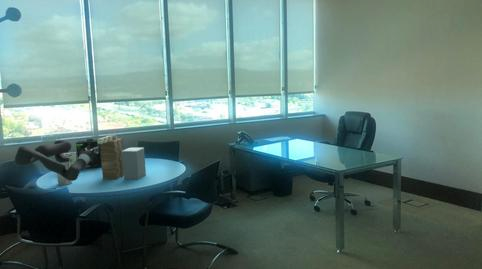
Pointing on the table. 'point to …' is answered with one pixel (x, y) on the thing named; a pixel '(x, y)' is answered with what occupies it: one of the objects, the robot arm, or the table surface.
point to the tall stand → (112, 159)
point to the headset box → (96, 158)
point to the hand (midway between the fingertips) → (94, 145)
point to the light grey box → (133, 163)
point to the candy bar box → (72, 157)
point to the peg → (106, 139)
